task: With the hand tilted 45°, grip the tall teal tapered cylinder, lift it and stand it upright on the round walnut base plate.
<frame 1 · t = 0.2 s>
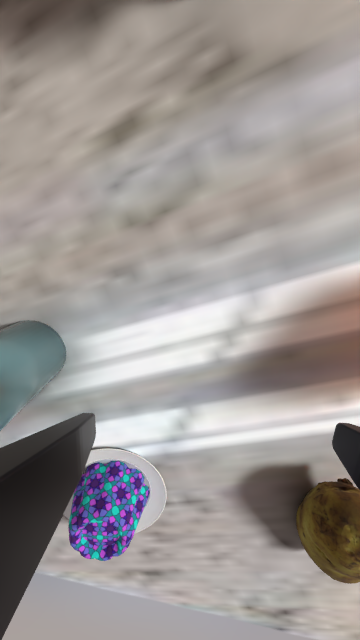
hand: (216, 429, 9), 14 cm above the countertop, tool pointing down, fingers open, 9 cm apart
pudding: (113, 487, 28), on the countertop
teal tapered cylinder: (33, 351, 24), on the countertop
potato: (317, 499, 29), on the countertop
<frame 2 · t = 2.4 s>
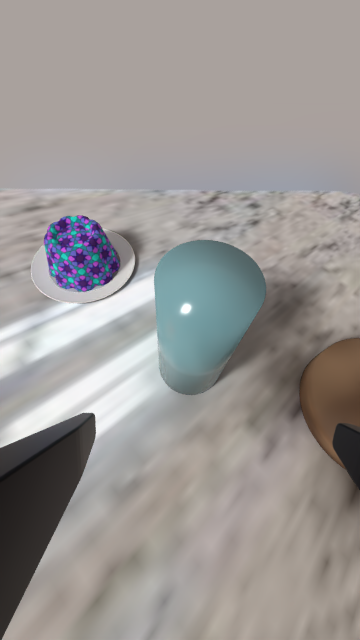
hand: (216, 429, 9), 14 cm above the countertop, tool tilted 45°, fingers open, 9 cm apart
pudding: (86, 267, 31), on the countertop
teal tapered cylinder: (189, 364, 25), on the countertop
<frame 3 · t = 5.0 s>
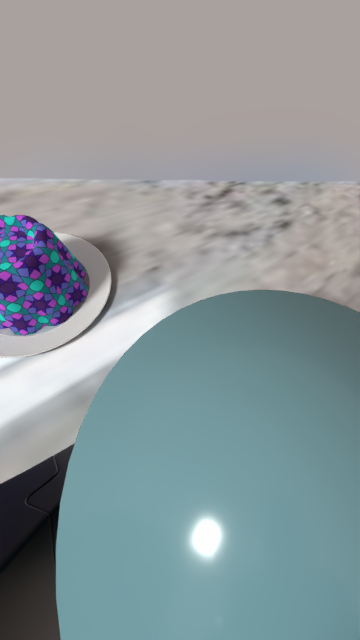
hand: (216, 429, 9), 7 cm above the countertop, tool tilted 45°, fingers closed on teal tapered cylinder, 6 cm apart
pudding: (38, 292, 20), on the countertop
teal tapered cylinder: (196, 470, 14), on the countertop, touching gripper
when the fingers open (10 cm above the countertop, at t = 8.9 s): teal tapered cylinder drops 1 cm, resting on base plate.
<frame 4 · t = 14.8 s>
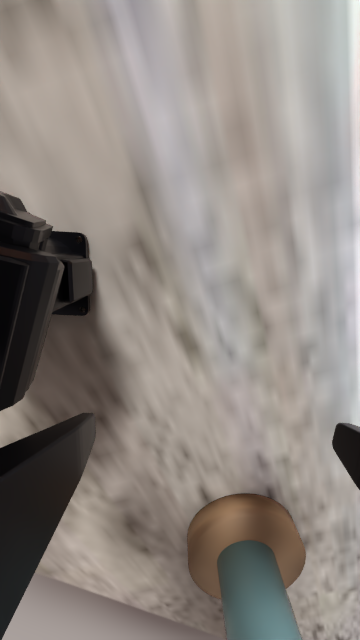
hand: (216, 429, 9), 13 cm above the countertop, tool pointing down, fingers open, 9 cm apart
base plate: (240, 535, 28), on the countertop
teal tapered cylinder: (246, 562, 26), point 3 cm above the countertop, touching base plate
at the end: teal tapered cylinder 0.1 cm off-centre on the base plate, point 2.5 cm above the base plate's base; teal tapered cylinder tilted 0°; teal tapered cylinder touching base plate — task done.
